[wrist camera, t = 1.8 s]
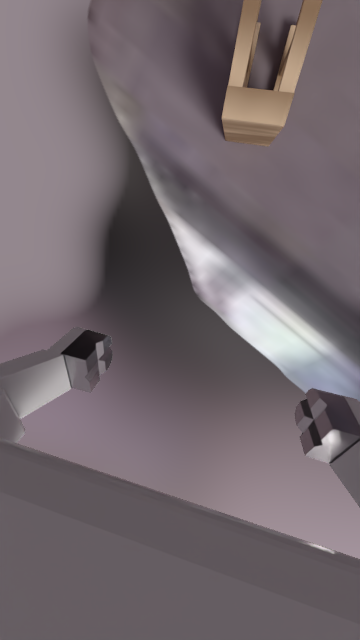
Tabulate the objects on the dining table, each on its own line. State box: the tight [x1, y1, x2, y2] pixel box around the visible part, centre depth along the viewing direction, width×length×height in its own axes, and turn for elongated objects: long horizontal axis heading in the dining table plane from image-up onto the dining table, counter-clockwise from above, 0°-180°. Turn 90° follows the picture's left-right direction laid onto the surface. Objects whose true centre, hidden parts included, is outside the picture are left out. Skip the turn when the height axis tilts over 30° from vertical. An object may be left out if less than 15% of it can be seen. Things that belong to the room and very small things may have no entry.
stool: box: [222, 0, 322, 146], centre depth 20 cm, size 9×6×10 cm, turn 172°
